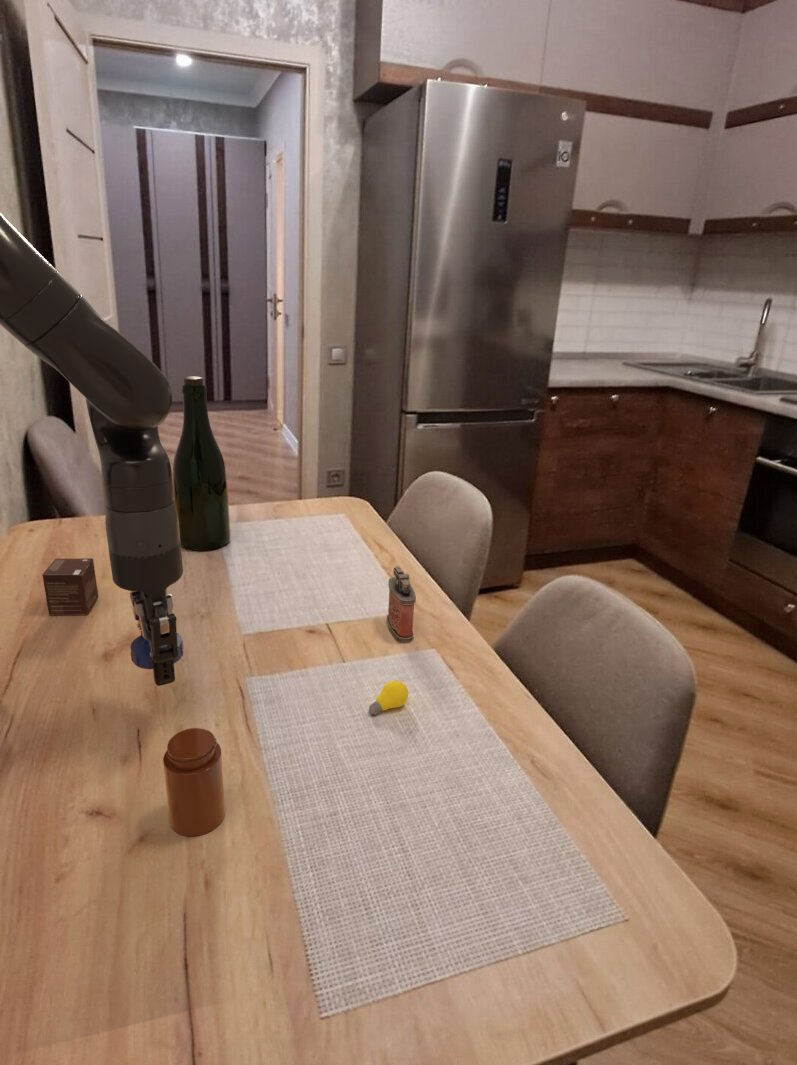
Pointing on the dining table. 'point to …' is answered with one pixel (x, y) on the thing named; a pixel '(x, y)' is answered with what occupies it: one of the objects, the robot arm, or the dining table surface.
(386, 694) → the light bulb
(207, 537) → the dark green wine bottle
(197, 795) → the jam jar
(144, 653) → the jam lid
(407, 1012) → the dining table surface
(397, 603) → the lighter
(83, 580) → the box
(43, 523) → the dining table surface
